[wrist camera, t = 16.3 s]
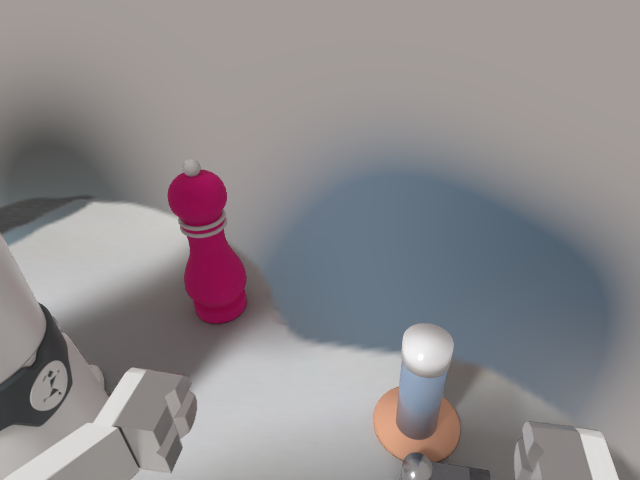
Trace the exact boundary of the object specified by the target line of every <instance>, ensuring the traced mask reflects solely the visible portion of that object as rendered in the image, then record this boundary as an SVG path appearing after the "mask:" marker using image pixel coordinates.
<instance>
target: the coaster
mask: <svg viewBox="0 0 640 480" xmlns="http://www.w3.org/2000/svg"><path fill="white" fill-rule="evenodd" d="M398 392H399V387H396V388H394V389H392V390H390V391H388V392H387V393H386V394H384V395H383V396H382V397H381V398H380V400H379V401H378V403H377V405H376V408H375V411H374V429H375V432H376V435H377V437H378V439H379V441H380V442H381V444H382V445H383V446H384V447H385V448H386V449H387V450H388V451H389V452H390V453H391V454H392V455H394V456H395V457H397V458H399V459H401V460H404V458H405V457H406V456H407V455H408V454H410V453H414V452H417V453H421V454H423V455H425V456H426V457H427V458H428V459H429V460H430V461H431V462H439V461H441V460H443V459H445V458H446V457H448V456H449V455H450V454H451V453H452V452H453V450H454V449H455V447H456V446H457V443H458V440H459V436H460V422H459V418H458V416H457V413H456V411H455V410H454V408H453V407H452V405H451V404H450V403H449V402H448V401H447V400H446V399H445V398H444V397H442V402H441V407H440V412H439V417H438V422H437V427H436V431H435V432H434V434H433V435H432V436H431V437H429V438H427V439H424V440H414V439H411V438H408V437H407V436H405V435H404V434H403V433H402V432H401V431H400V430H399V429H398V427H397V424H396V411H397V402H398Z"/></svg>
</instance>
